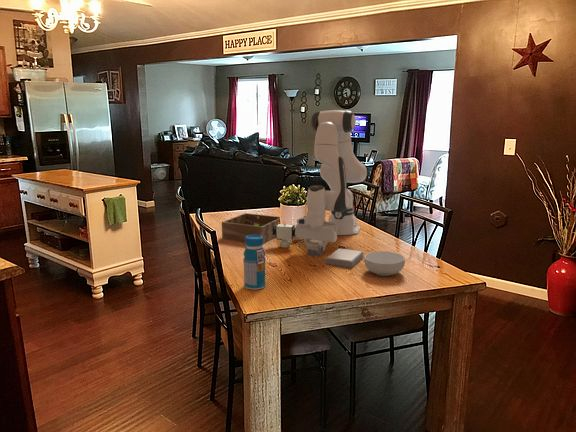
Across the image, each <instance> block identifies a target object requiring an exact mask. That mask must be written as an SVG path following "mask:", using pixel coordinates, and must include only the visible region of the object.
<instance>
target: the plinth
mask: <svg viewBox="0 0 576 432" xmlns="http://www.w3.org/2000/svg"><path fill="white" fill-rule="evenodd" d="M363 258H364V252H363V251H361V250H354V249H347V248H346V249H345V248H338V249H336V250H335V251H333V252H332V253H331V254H330V255H328V256H327V257H326V259H325V264H326V265H331V266H338V267H345V268H349V269H352V268H353V267H354V266H356V265H357V264H358V263H359V262H360V261H361V260H362V259H363Z"/></svg>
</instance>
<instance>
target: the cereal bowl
mask: <svg viewBox="0 0 576 432" xmlns="http://www.w3.org/2000/svg"><path fill="white" fill-rule="evenodd" d="M363 258H364V259H363V260H364V266H365V267H366V269H368V271H369V272H372V273H374V274H376V275H378V276H380V277H390V275H391V276H393V275H394V274H397V273H399V272H401V271H402V270H403V269H404V268H405V264H406V257H405V256H404V255H403V254H401V253H397V252H395V251H394V252H392V251H387V250H385V251H384V250H383V251H382V250H380V251H371V252H368V253H366V254H365V255H364V256H363Z"/></svg>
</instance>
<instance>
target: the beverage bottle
mask: <svg viewBox="0 0 576 432" xmlns="http://www.w3.org/2000/svg"><path fill="white" fill-rule="evenodd" d="M244 244H245V246H246V247H245V249H244V252H243V256H244V258H243V260H242V261H243V278H244V280H243V281H244V282H243V283H244V288H246V289H247V290H251V291H258V290H262V289H263V288H265V287H266V257H265V256H266V251H265V249H264V247H263V245H264V244H263V237H262V236H261V235H248V236H246V237H245V242H244Z"/></svg>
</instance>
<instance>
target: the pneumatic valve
mask: <svg viewBox="0 0 576 432" xmlns="http://www.w3.org/2000/svg"><path fill="white" fill-rule="evenodd" d="M295 228H296V226H295V224H287V223H286V222H283V224H277V225H276V226H275V227H273V235H275V238H274V239H277V240H279V239H281V240H280V241H279V242H278V243H279V246H280V247H281V248H283V249H284V248H286V249H287V248H289V247H290V246H291V244H292V243H291V240H294V239H295V238H296V236H295Z"/></svg>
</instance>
